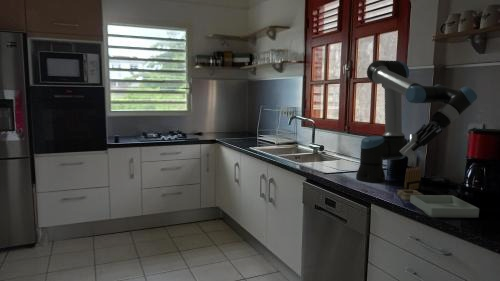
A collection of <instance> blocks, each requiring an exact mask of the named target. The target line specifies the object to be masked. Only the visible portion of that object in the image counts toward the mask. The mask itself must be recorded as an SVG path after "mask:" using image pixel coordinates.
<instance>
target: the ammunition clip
mask: <svg viewBox="0 0 500 281" xmlns="http://www.w3.org/2000/svg"><path fill="white" fill-rule="evenodd" d="M421 170H422V169H421V166H420V165H419V166H417V165H416V167H407V168H406V170H405V178H404V182H403V189H402V190H416V191H420V190H422V180H421V179H422V171H421Z"/></svg>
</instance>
